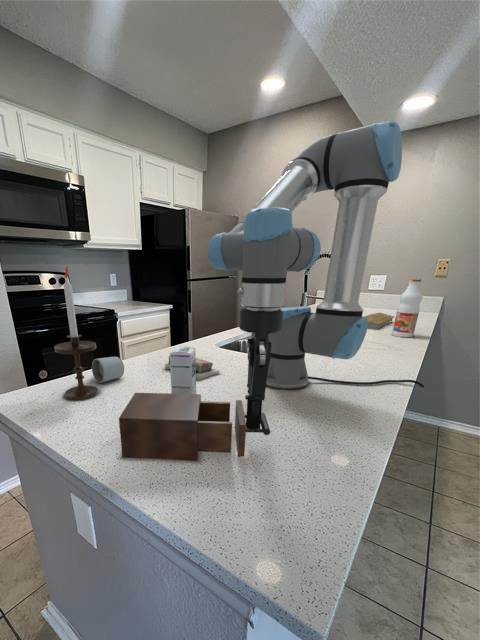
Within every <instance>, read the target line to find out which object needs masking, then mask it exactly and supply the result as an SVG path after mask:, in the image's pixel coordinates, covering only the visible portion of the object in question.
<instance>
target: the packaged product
mask: <svg viewBox="0 0 480 640" xmlns="http://www.w3.org/2000/svg"><path fill="white" fill-rule="evenodd" d="M213 366H214V363H213V362H212V361H209V360H205V359H202V358H198V357H196V380H198V381H199V380H203V379H205V378H207V377H210V376H214V375H217V374H219V373H220V370H219V369H216V368H213ZM164 368H165V369H167V370H170V355H169V356H168V363H165V364H164Z"/></svg>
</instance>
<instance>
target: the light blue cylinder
mask: <svg viewBox="0 0 480 640" xmlns="http://www.w3.org/2000/svg"><path fill="white" fill-rule="evenodd" d="M91 373H92V376H93V378H94V380H95V381H96V382H97V383H99V384H102V383H103V384H104V383H106V382H110V381H113V380H117V379H119V378H121V377H123V376H124V373H125V364H124V363H123V360H122V359H121V357H119V356H108V357H99V358H94V359H93V361H92V363H91Z"/></svg>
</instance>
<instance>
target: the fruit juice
mask: <svg viewBox="0 0 480 640" xmlns="http://www.w3.org/2000/svg"><path fill="white" fill-rule="evenodd" d="M421 282H422V279H421V278H409V279H408V286H407V288H406V289H405V291H403V293H401V295H400V297H399V304H398V306H397V309H396V314H395V317H394V322H393V326H392V333H391V335H392V336H393V337H394V336H395V337H398V338H413V337H414V334H415V330H416V327H417V321H418V318H419V315H420V311H421V310H420V309H421V306H420V304H421V302H422V300H423V294H422V292H421V289H420V284H421Z"/></svg>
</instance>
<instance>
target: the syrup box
mask: <svg viewBox="0 0 480 640" xmlns="http://www.w3.org/2000/svg"><path fill="white" fill-rule="evenodd" d="M196 355H197V354H196V347H192V346H191V347H189V346H175V347H174V349H172V350H171V351H170V352H169V356H170V369H169V370H170V391H171V392H170V394H197V379H196V358H197V357H196Z"/></svg>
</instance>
